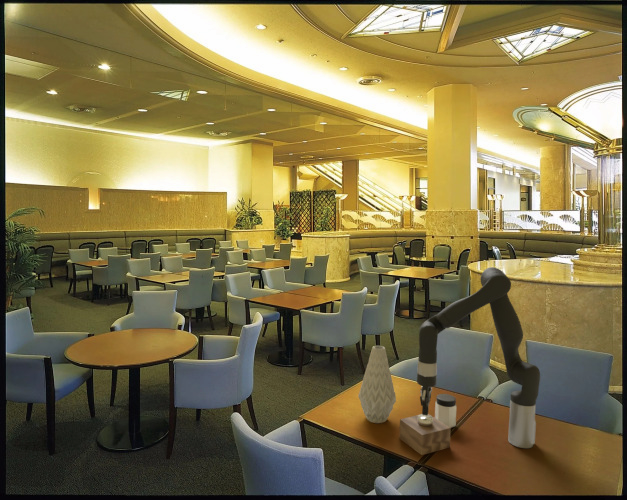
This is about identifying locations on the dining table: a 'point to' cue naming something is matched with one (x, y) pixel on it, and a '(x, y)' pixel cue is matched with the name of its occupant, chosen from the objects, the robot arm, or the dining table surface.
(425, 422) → the pin
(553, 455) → the dining table surface
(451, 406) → the jar
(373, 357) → the vase
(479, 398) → the dining table surface
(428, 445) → the pin block
